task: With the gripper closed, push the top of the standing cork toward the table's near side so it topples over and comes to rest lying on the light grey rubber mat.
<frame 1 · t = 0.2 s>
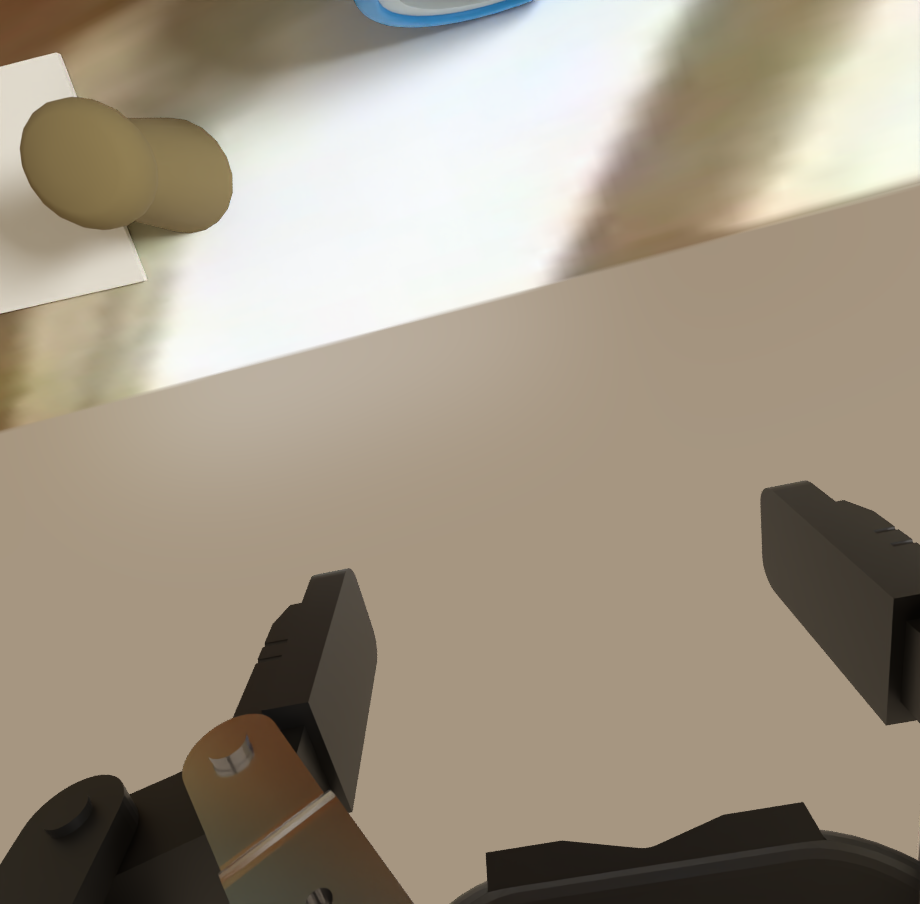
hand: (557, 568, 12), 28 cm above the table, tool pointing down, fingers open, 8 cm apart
mat: (25, 193, 35), on the table
cork: (181, 177, 35), on the table
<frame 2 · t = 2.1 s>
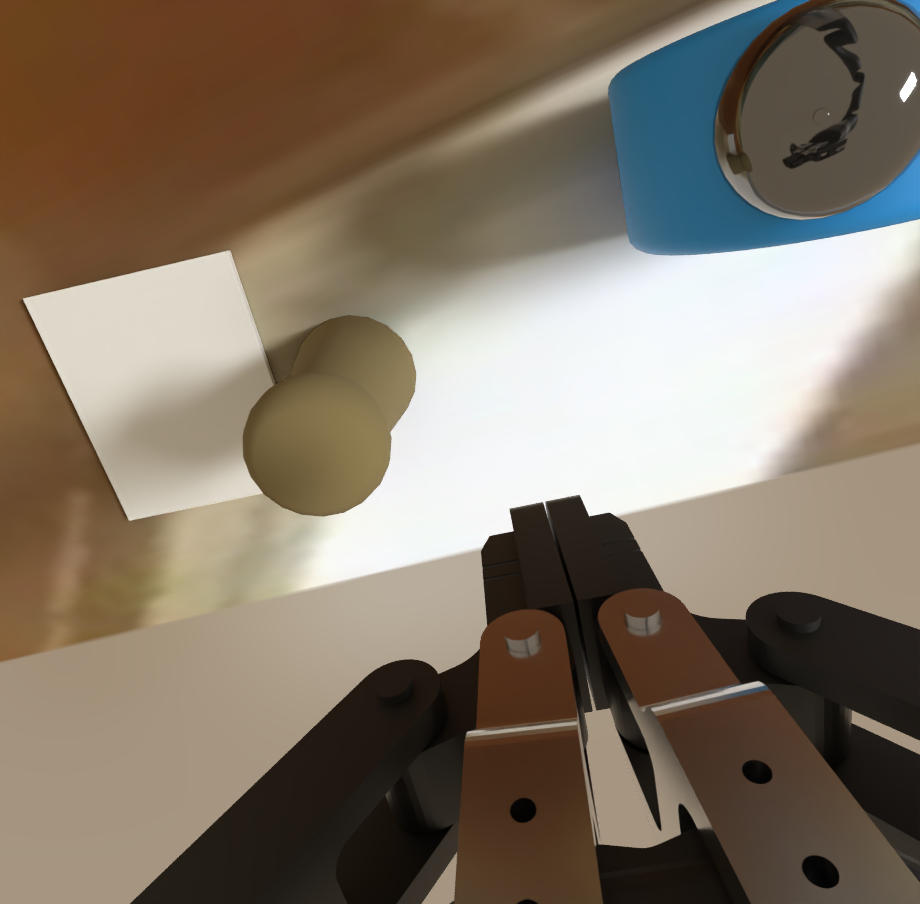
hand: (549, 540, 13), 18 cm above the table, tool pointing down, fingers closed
alarm clock: (731, 133, 27), on the table
mat: (177, 394, 31), on the table
cork: (356, 375, 31), on the table
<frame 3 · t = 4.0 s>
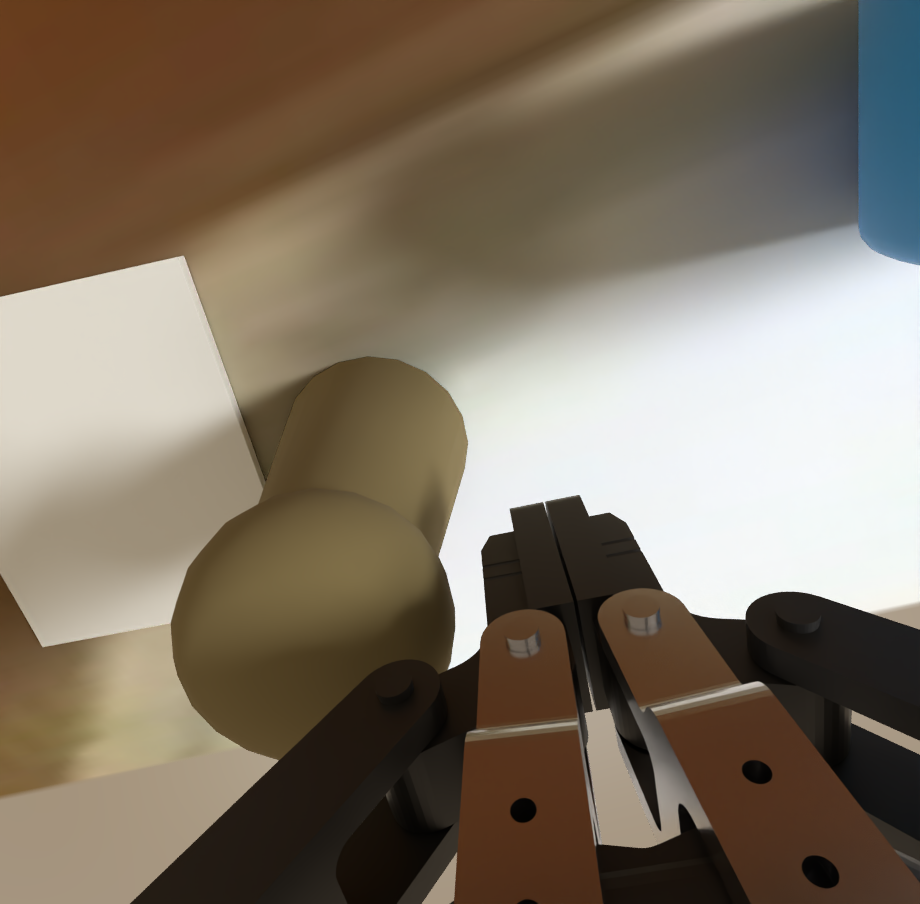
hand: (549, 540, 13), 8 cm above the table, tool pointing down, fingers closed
mat: (108, 471, 21), on the table
cork: (377, 444, 21), on the table, touching gripper
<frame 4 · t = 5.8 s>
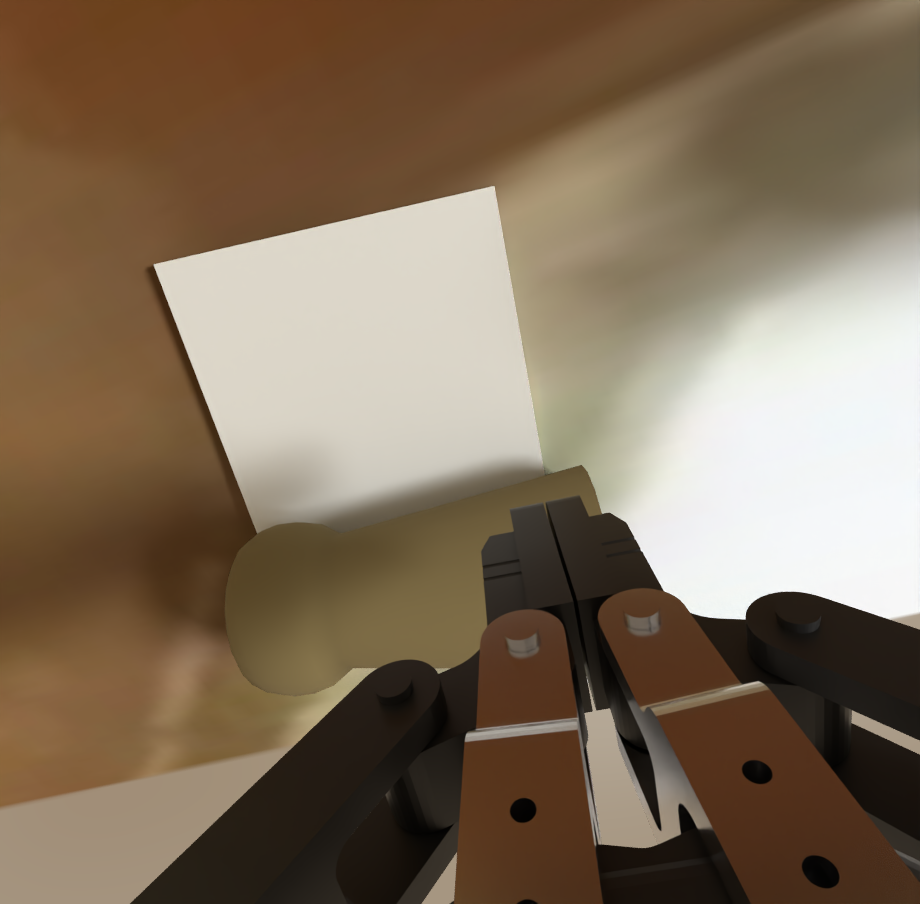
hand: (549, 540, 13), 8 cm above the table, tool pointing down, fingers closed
mat: (376, 418, 20), on the table
cork: (602, 562, 19), point 3 cm above the table, touching mat
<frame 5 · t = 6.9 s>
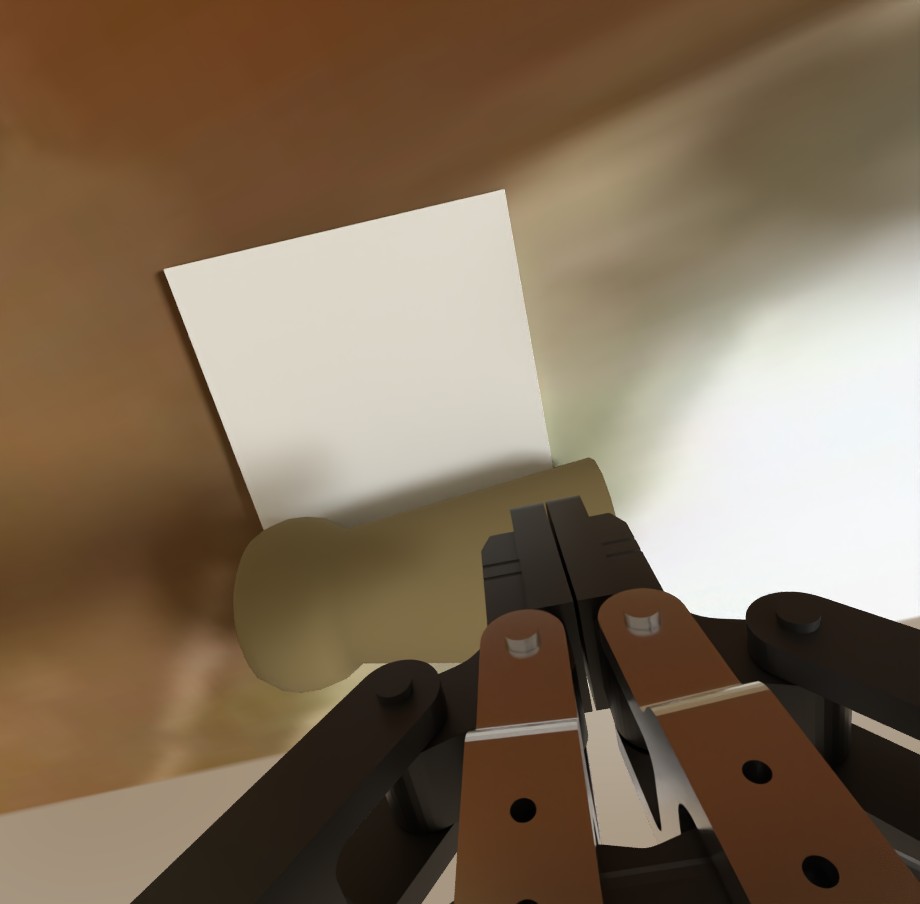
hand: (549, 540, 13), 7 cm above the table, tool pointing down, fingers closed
mat: (386, 421, 20), on the table
cork: (613, 555, 18), point 3 cm above the table, touching mat
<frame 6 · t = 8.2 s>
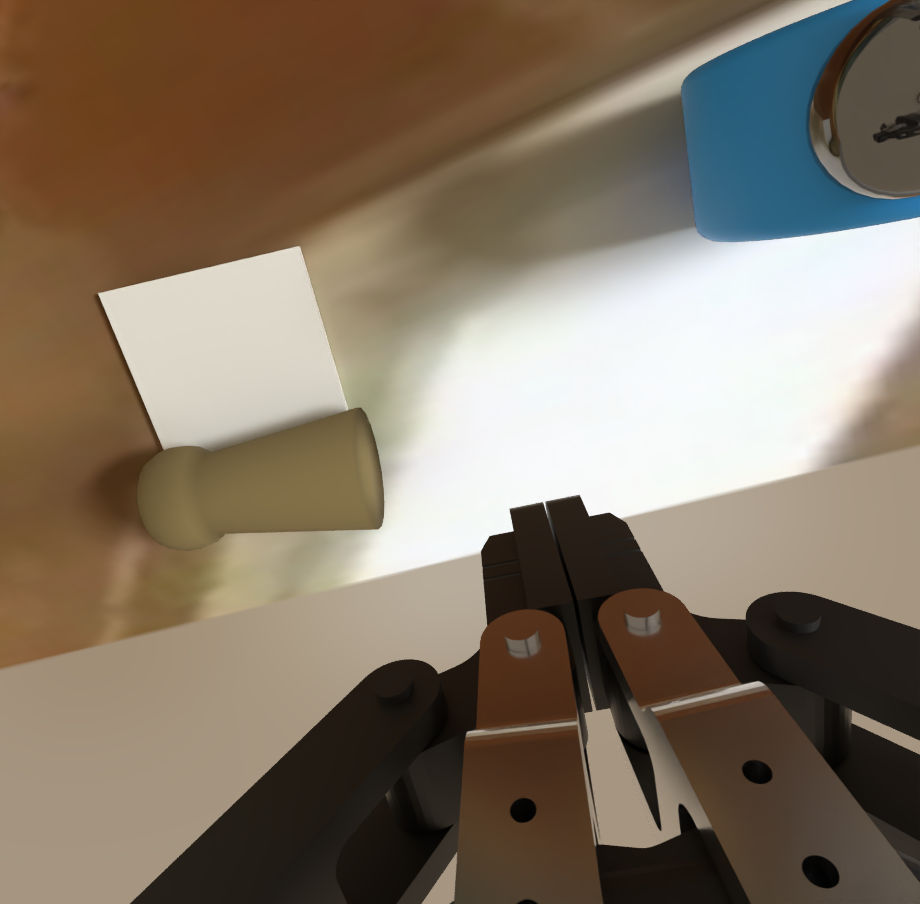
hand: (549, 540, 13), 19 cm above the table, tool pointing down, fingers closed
alarm clock: (785, 131, 28), on the table
mat: (242, 387, 32), on the table
cork: (373, 467, 30), point 3 cm above the table, touching mat
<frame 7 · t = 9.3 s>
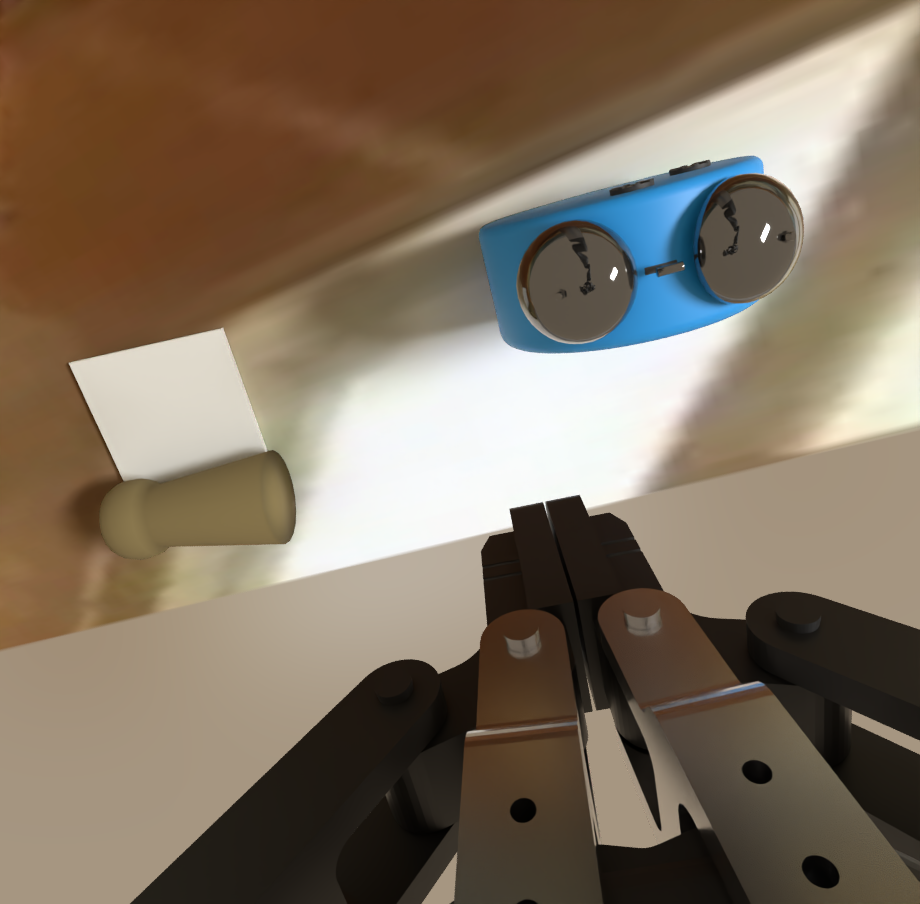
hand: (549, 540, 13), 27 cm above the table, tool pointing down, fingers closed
alarm clock: (589, 244, 37), on the table
mat: (183, 432, 41), on the table
cork: (282, 496, 39), point 3 cm above the table, touching mat
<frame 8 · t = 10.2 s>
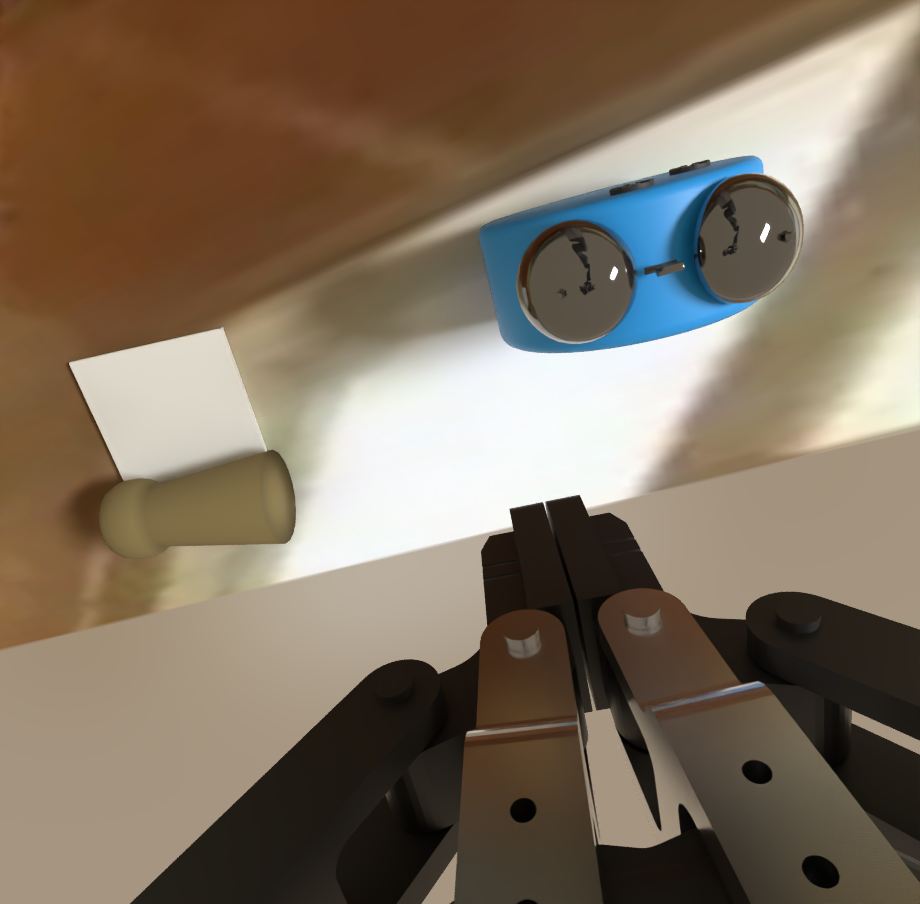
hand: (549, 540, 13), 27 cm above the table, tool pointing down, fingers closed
alarm clock: (589, 244, 37), on the table
mat: (183, 432, 41), on the table
cork: (282, 495, 39), point 3 cm above the table, touching mat
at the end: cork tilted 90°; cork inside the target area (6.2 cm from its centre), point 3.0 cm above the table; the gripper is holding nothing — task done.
